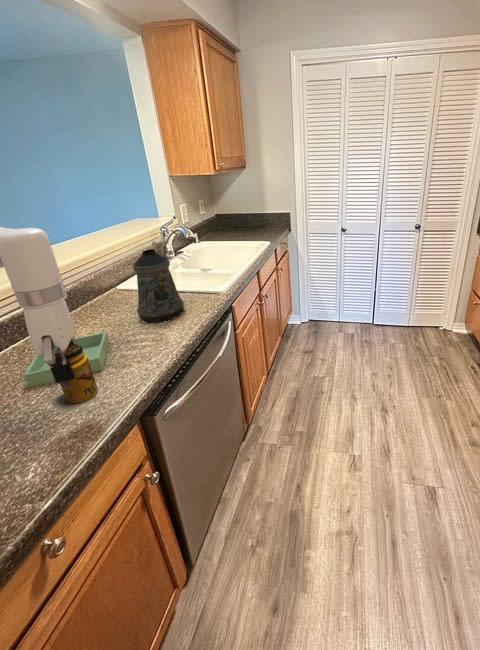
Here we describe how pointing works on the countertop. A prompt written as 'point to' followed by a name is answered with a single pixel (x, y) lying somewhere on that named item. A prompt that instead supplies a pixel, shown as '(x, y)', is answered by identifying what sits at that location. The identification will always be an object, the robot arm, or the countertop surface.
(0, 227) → the robot arm
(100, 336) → the tray
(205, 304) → the countertop surface
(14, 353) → the countertop surface
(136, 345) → the countertop surface
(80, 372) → the condiment
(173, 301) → the beer stein
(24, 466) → the countertop surface
